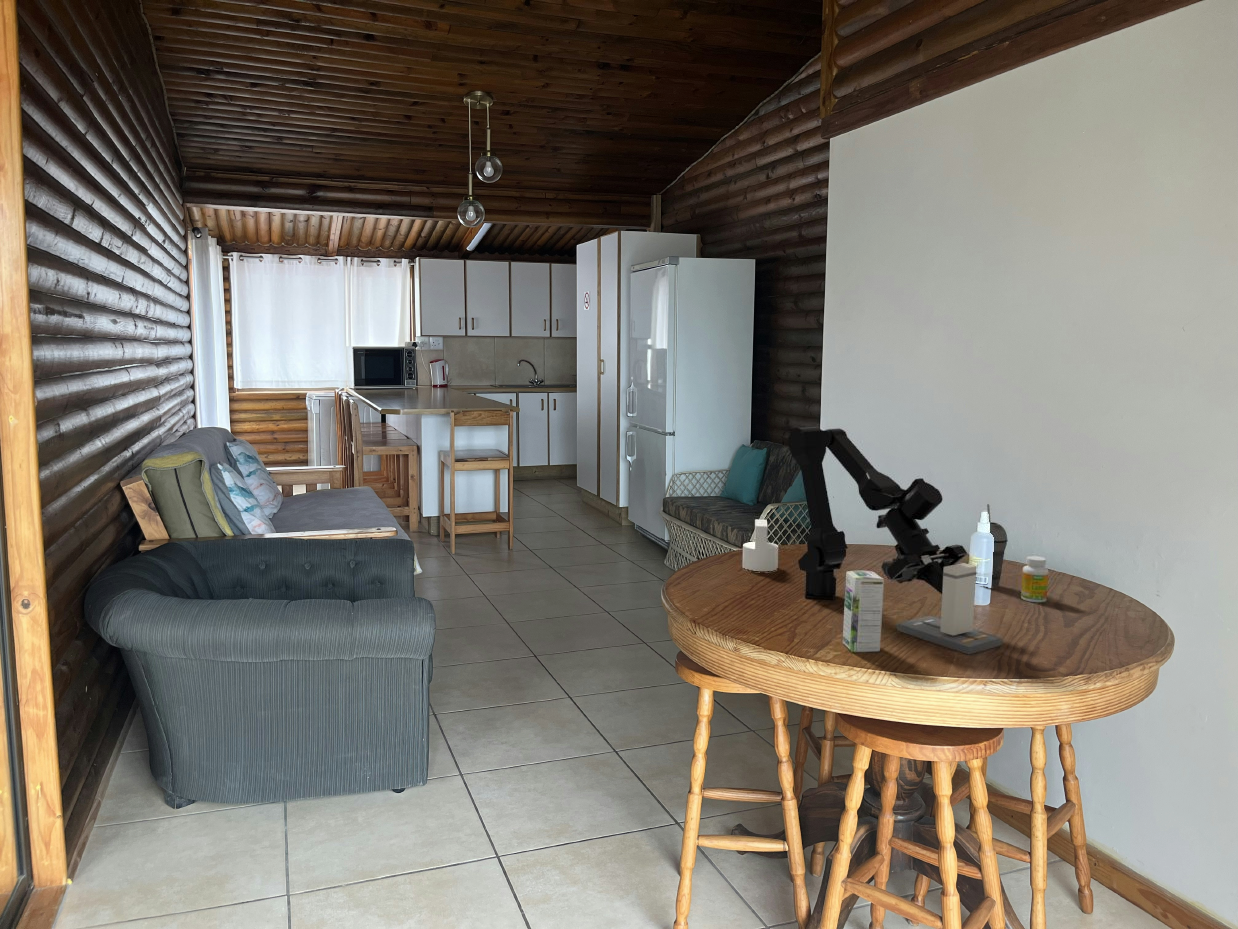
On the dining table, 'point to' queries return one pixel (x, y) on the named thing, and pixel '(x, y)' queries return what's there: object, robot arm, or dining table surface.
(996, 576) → the beverage cup
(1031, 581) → the supplement bottle
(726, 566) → the dining table surface
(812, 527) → the robot arm
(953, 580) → the fader knob
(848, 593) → the syrup box
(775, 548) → the base with upright slab
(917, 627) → the fader console
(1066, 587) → the dining table surface
